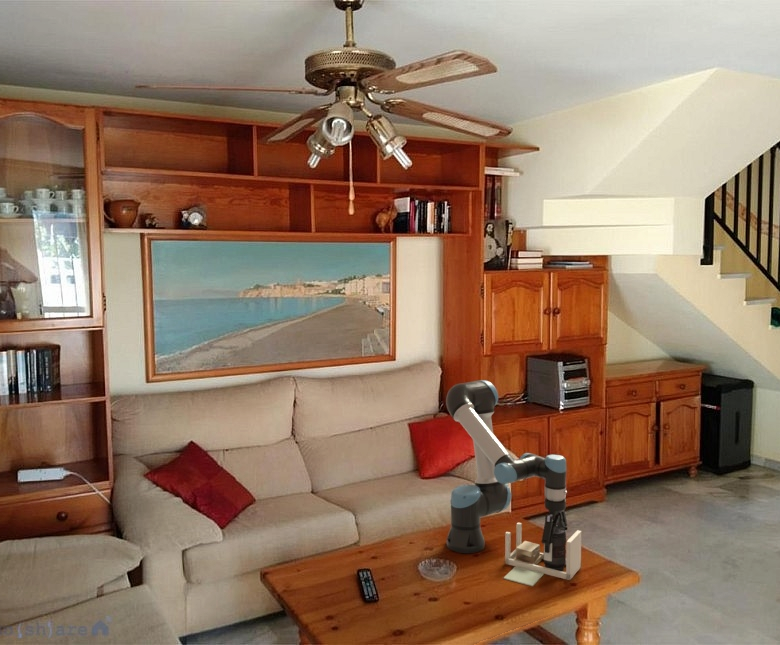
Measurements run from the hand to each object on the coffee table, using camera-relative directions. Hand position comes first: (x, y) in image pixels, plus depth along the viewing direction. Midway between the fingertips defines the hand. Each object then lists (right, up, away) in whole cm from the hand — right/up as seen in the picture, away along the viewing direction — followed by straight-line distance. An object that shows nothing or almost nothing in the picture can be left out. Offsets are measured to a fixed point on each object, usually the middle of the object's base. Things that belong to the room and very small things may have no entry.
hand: (554, 553), depth 258 cm
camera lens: (0, -6, +1) cm, 6 cm away
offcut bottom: (-9, -6, +6) cm, 12 cm away
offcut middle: (-9, -3, +6) cm, 11 cm away
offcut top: (-9, -1, +6) cm, 10 cm away
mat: (-12, -6, -6) cm, 15 cm away
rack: (-4, -6, +3) cm, 7 cm away
